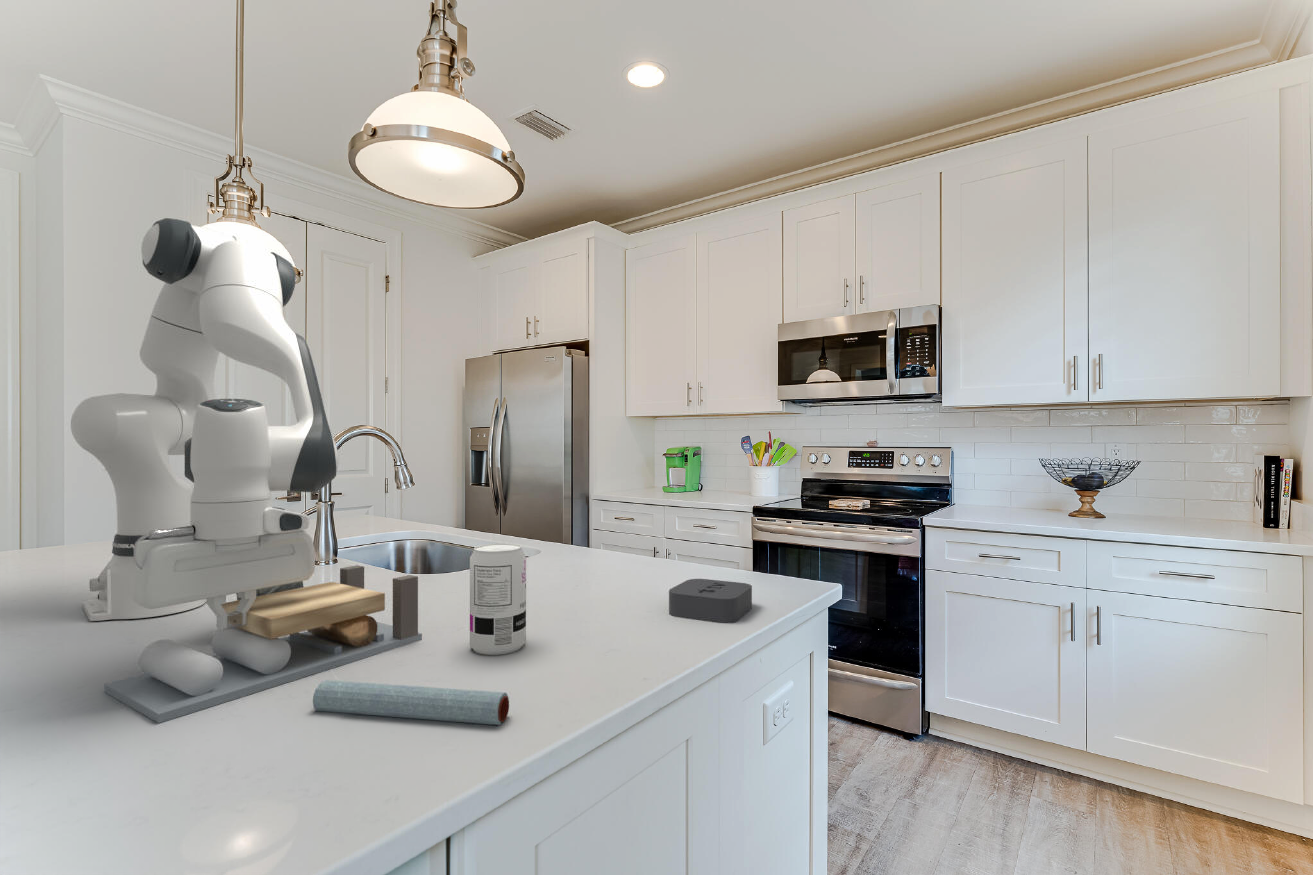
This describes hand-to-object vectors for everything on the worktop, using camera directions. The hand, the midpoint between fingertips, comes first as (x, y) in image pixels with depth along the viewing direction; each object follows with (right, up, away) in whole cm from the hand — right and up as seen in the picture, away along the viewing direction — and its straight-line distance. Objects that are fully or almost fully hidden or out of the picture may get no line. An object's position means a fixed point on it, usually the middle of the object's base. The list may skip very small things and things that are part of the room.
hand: (231, 627), depth 83 cm
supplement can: (+32, -7, +12) cm, 35 cm away
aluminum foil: (+27, -7, -13) cm, 31 cm away
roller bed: (+3, -6, +5) cm, 9 cm away
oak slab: (+5, -1, +8) cm, 9 cm away
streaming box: (+66, -7, +31) cm, 73 cm away
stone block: (-7, -7, +19) cm, 22 cm away
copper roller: (+8, -3, +12) cm, 15 cm away
